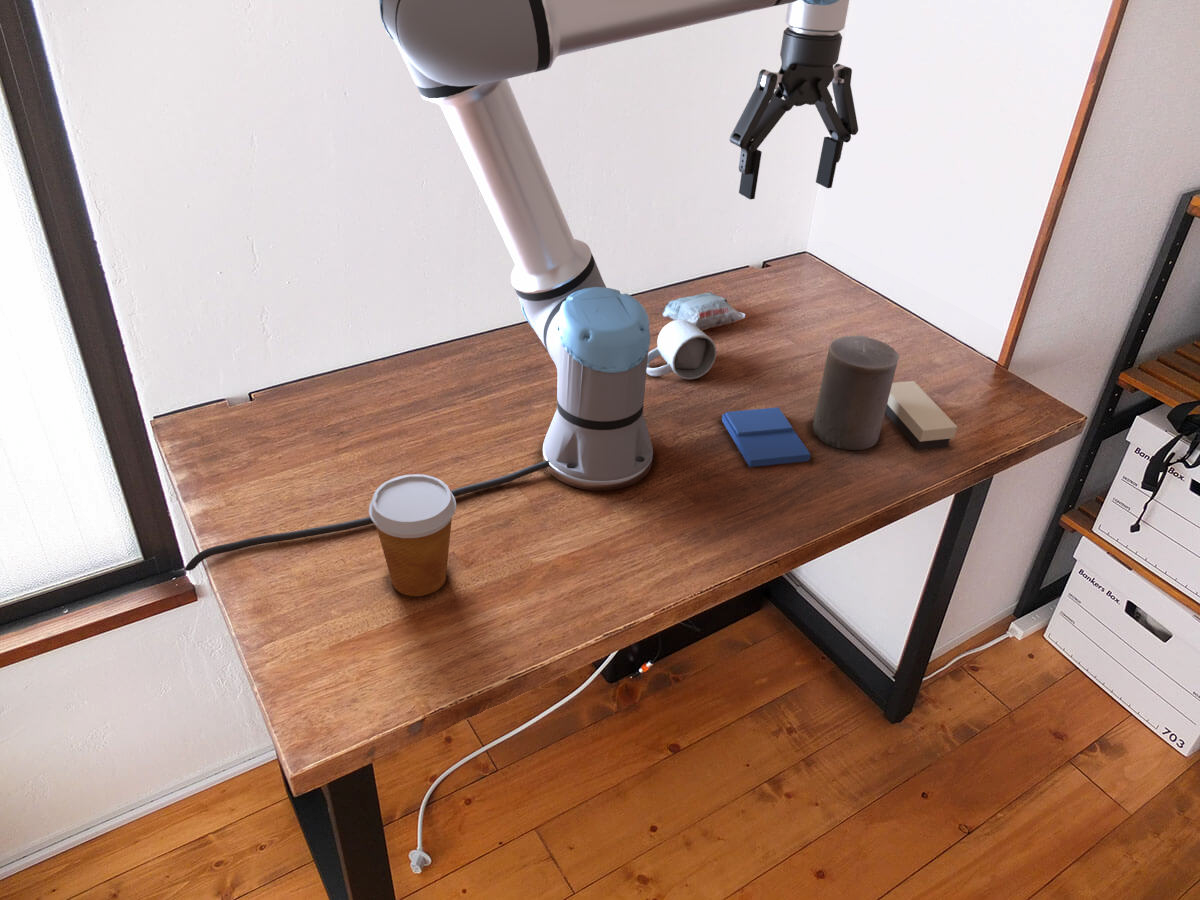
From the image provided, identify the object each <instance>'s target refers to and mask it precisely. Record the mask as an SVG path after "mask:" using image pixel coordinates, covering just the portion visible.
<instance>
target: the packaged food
mask: <svg viewBox="0 0 1200 900" xmlns="http://www.w3.org/2000/svg"><path fill="white" fill-rule="evenodd" d="M662 317H664V318H666V317H668V318H670V319H672V320H678V319H682V320H686V321H689V322H691V323H693V324H694V325H696V326H697V327H698V328H699V329H700V330H701V331H704V330H708V329H715V328H718V327H721V326H725V325H730V324H733V323H735V322H737V321H738V322H739V321H740V320H744V319H745V317H746V314H745V313H744V312H741V311H739V310H736V309H735V308H734V307H732V305H730V304H729V302H728V299H727V298H725V297H722V296H720V295H717V294H715V293H713V292H710V291H709V292H708V291H707V292H705V293H700V294H696V295H690V296H683V297H679V298H676V299H672V300H670V301H669V302H668V303H667V304H666V305H665V307H664V310H663V311H662Z"/></svg>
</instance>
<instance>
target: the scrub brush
mask: <svg viewBox="0 0 1200 900" xmlns="http://www.w3.org/2000/svg"><path fill="white" fill-rule="evenodd" d="M885 415H886V416H887V417H888V418H889V419H890V420H891V422H892V423H893V424H894V425H895V426H896V428H898V430H899V431H900V432H901V434H903V436H904V437H905V438H906V439H907V440H908V441H909V443H910V444H911V445H912V447H914V448H915V450H917V451H918V450H929V449H939V448H947V447H949V444H950V441H951V439H955V436H956V433H957V430H958V426H957V425H956V423H954V422H953V420H952V419H951V418H950V417H949V416H948V415H947V413H945V412H944V411H943V410H942V409H941V408H940V407H939V406H938V404H937V403H935V401H934V400H933V399H932V398H931V397H930V396H929V395H928V394H927V393H926V391H925V390H923V389H922V388H921V387H920V385H918V384H917V382H915V381H914V380H910V381H907V380H906V381H896V382H893V383H892V387H891V391H890V395H889V399H888V403H887V407H886V411H885Z"/></svg>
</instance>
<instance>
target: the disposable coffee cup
mask: <svg viewBox="0 0 1200 900" xmlns="http://www.w3.org/2000/svg"><path fill="white" fill-rule="evenodd" d="M451 491H452V490H450V487H449V485H447V484H446V483H445V482H444V481H443V480H441V479H439V478H437V477H435V476H432V475H428V474H421V473H415V474H404V475H399V476H395V477H393V478H390V479H389V480H387V481H385V482H383V483H382V484H380V485H379V486H378V487H377V489H375V491H374V493H373V495H372V499H371V501H370V502H369V505H368V514H369V517H370V518H371V520H372V521H373V522H374V523H373V524H374V526H375V528H376V531H377V534H378V537H379V541H380V545H381V549H382V552H383V555H384V559H385V563H386V566H387V569H388V573H389V576H390V580H391V585H392V586H393V588H394V589H395V590H396V591H397V592H399V593H401V594H402V595H404V596H409V597H422V596H427V595H430V594H433V593H435V592H437V591H438V590H439V589H441V587H442V586H443V585H444V584H445V582H446V579H447V571H448V561H449V551H450V542H451V532H452V531H451V529H452V521H453V517H454V514H455V512H456V509H457V502H456V497H454V496H453V494H452V493H451Z"/></svg>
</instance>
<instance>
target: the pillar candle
mask: <svg viewBox="0 0 1200 900" xmlns="http://www.w3.org/2000/svg"><path fill="white" fill-rule="evenodd" d="M826 355H827V356H826V360H825V363H824V370H823V373H822V374H823V375H822V378H821V384H820V388H819V393H818V398H817V402H816V407H815V413H814V417H813V424H812V431H813V433H814V435H815V436H816V437H817V438H818V439H820V440H821V441H822V442H823V443H825V444H826V445H828V446H830V447H833V448H836V449H840V450H846V451H863V450H867V449H870V448H872V447H873V446H875V445H876V444H877V443H878V441H879V438H880V434H881V431H882V426H883V424H884V423H883V422H884V418H885V415H886V413H885V411H886V407H887V403H888V399H889V395H890V391H891V387H892V383H894V378H895V374H896V370H897V366H898V362H899V360H900V353H898V351H896V350H895V348H894V347H893V346H891V345H890V344H888V343H886V342H883V341H882V340H880V339H876V338H872V337H868V336H866V335H860V334H859V335H845V336H840V337H836V338H835V339H833V340H832V341H831V342H830V344H829V347H828V352H827V354H826Z"/></svg>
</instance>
